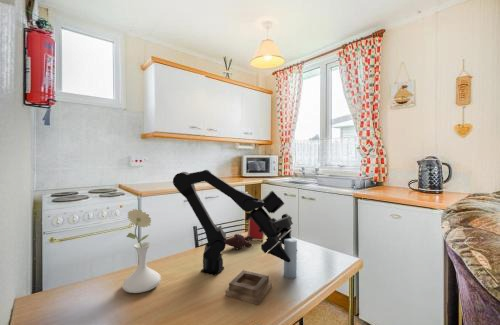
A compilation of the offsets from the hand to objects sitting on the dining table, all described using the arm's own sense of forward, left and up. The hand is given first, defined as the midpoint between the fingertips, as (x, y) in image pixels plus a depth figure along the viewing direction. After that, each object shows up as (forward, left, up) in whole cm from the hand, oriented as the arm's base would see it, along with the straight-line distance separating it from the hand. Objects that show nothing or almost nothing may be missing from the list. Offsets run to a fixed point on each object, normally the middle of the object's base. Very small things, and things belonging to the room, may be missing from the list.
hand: (293, 256), depth 84 cm
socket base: (-10, -15, -7) cm, 19 cm away
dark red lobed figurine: (-30, +13, -7) cm, 33 cm away
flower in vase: (-43, -28, -7) cm, 52 cm away
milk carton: (-28, +31, -7) cm, 42 cm away
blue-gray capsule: (-1, 0, -7) cm, 7 cm away
